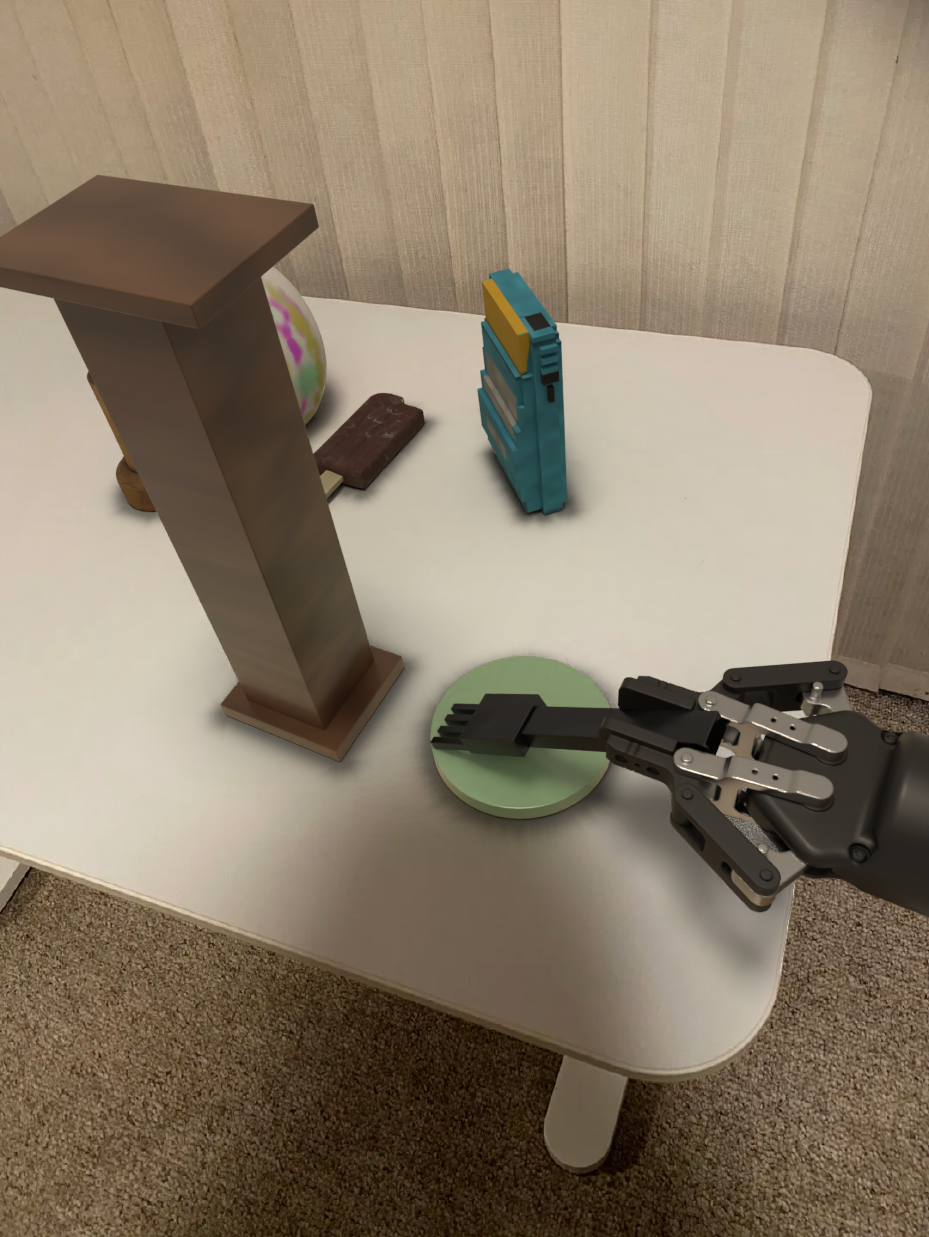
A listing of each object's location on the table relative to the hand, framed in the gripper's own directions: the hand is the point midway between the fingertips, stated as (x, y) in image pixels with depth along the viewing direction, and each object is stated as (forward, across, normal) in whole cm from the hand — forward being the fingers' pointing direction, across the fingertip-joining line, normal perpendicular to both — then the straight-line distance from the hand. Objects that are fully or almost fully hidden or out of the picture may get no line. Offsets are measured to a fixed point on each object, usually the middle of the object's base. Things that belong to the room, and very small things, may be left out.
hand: (612, 713), depth 46 cm
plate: (+6, -2, +9) cm, 11 cm away
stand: (+20, 0, +9) cm, 22 cm away
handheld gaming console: (+16, -24, +10) cm, 31 cm away
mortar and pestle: (+44, -13, +10) cm, 47 cm away
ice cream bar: (+30, -21, +10) cm, 38 cm away
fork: (+2, 0, +4) cm, 4 cm away
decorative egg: (+41, -24, +10) cm, 49 cm away
